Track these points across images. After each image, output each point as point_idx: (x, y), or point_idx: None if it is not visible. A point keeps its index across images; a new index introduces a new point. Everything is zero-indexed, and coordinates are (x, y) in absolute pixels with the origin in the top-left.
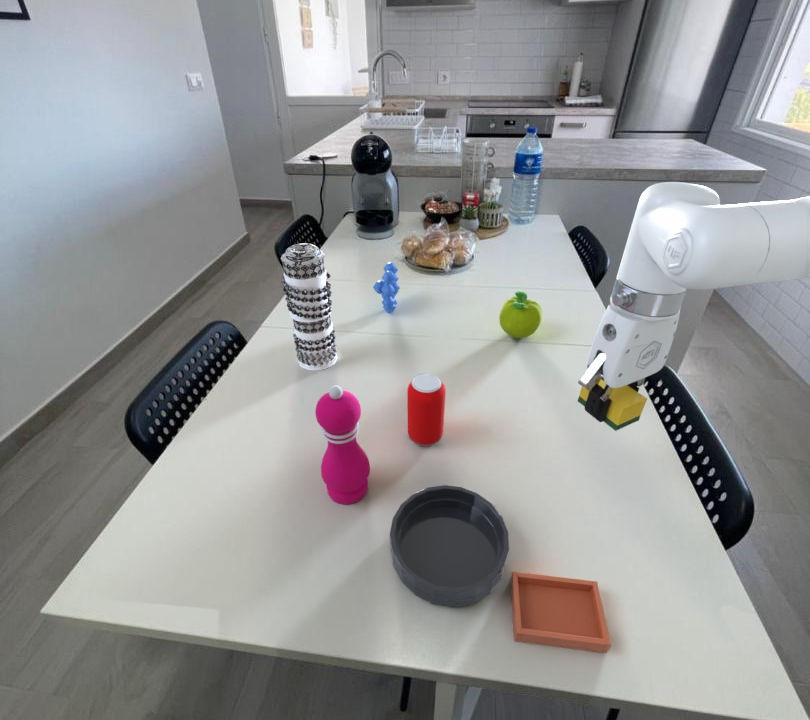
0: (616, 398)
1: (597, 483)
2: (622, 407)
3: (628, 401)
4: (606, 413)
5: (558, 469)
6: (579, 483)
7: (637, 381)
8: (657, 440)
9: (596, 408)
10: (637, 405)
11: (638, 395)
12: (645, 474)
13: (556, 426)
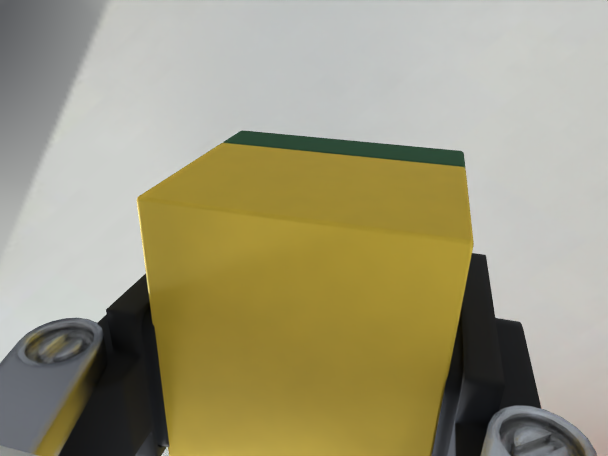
0: (385, 357)
1: (409, 85)
2: (462, 261)
3: (323, 274)
4: (466, 287)
5: (471, 200)
6: (463, 119)
7: (86, 379)
8: (89, 102)
9: (528, 365)
10: (264, 197)
11: (174, 266)
12: (232, 22)
13: None
